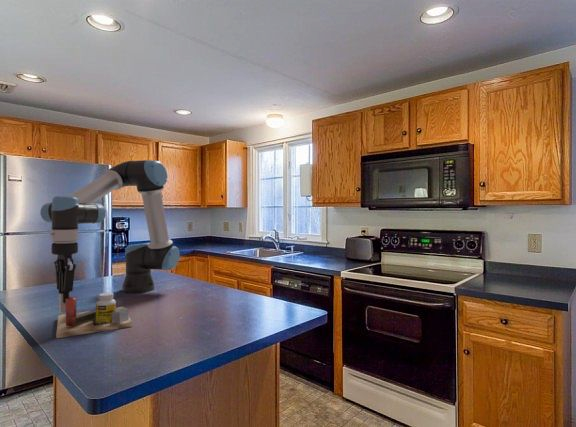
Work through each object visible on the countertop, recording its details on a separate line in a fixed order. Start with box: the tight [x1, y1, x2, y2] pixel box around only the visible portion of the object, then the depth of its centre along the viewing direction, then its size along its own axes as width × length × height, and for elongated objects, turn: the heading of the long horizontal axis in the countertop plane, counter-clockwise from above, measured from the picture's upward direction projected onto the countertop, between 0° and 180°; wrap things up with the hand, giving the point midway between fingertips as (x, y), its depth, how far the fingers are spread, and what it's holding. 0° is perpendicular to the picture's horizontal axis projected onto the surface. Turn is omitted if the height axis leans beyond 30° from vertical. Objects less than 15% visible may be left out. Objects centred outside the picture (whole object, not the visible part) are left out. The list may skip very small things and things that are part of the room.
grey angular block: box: [112, 307, 130, 329], centre depth 123 cm, size 5×3×6 cm, turn 172°
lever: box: [65, 296, 96, 326], centre depth 124 cm, size 16×4×9 cm, turn 161°
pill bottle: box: [95, 292, 117, 326], centre depth 124 cm, size 6×6×11 cm
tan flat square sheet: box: [55, 306, 133, 339], centre depth 126 cm, size 22×22×2 cm
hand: (64, 311), depth 119 cm, fingers closed
